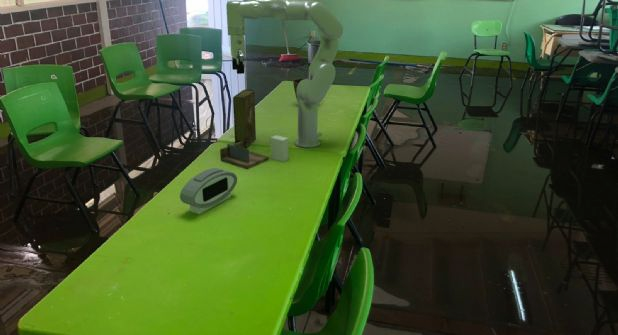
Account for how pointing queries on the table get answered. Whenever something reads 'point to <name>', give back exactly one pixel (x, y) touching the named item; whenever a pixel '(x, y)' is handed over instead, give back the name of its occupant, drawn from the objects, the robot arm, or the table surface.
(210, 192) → the alarm clock
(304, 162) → the table surface
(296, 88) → the plant pot
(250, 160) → the shelf
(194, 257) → the table surface
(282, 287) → the table surface
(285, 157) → the plain rectangular box
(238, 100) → the book
